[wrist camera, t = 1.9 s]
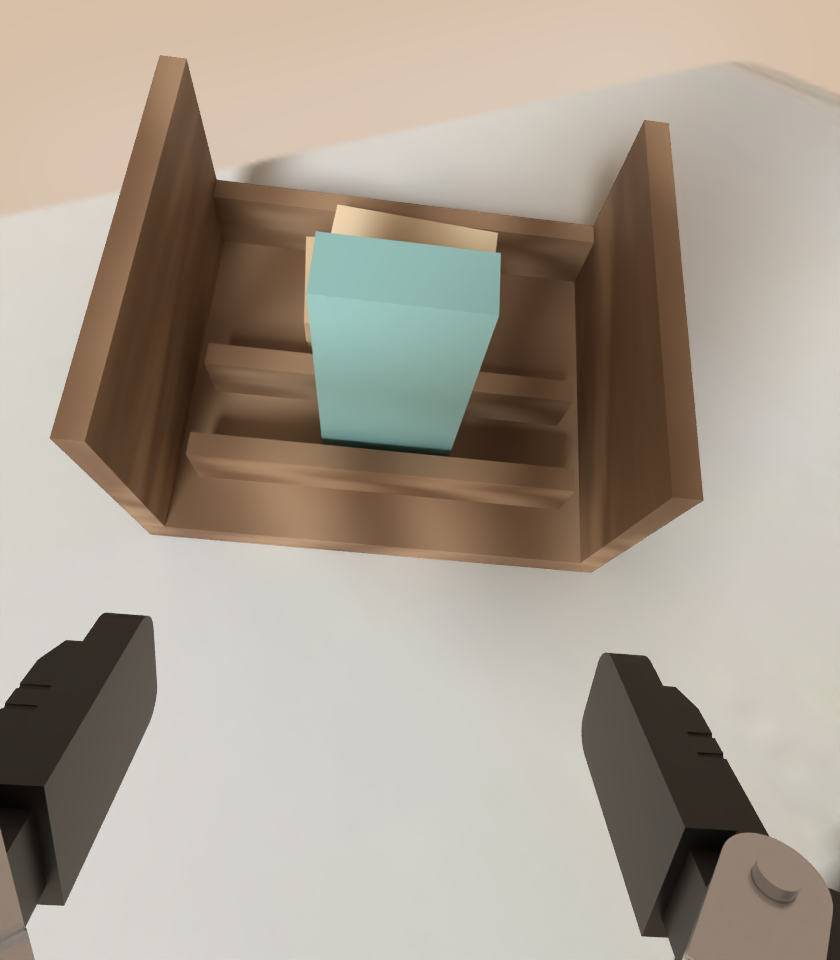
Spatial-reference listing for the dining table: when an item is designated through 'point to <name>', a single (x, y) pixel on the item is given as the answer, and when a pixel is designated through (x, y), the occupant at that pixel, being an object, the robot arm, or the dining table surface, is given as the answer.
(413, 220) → the offcut stack
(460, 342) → the teal board
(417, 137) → the dining table surface
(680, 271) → the walnut rack
